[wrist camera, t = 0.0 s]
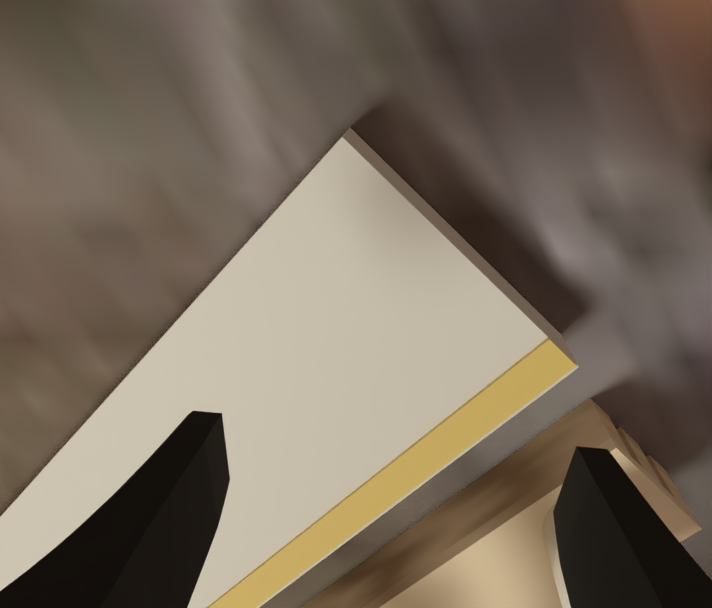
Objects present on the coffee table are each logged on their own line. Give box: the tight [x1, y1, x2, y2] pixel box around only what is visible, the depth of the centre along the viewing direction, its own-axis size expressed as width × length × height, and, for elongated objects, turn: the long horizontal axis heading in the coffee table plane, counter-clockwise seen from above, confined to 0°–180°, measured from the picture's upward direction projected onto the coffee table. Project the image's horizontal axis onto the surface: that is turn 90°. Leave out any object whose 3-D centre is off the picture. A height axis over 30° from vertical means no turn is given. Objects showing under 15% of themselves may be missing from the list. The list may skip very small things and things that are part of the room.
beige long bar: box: [300, 398, 702, 608], centre depth 26 cm, size 24×5×4 cm, turn 137°
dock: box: [0, 128, 579, 608], centre depth 24 cm, size 26×11×3 cm, turn 137°
